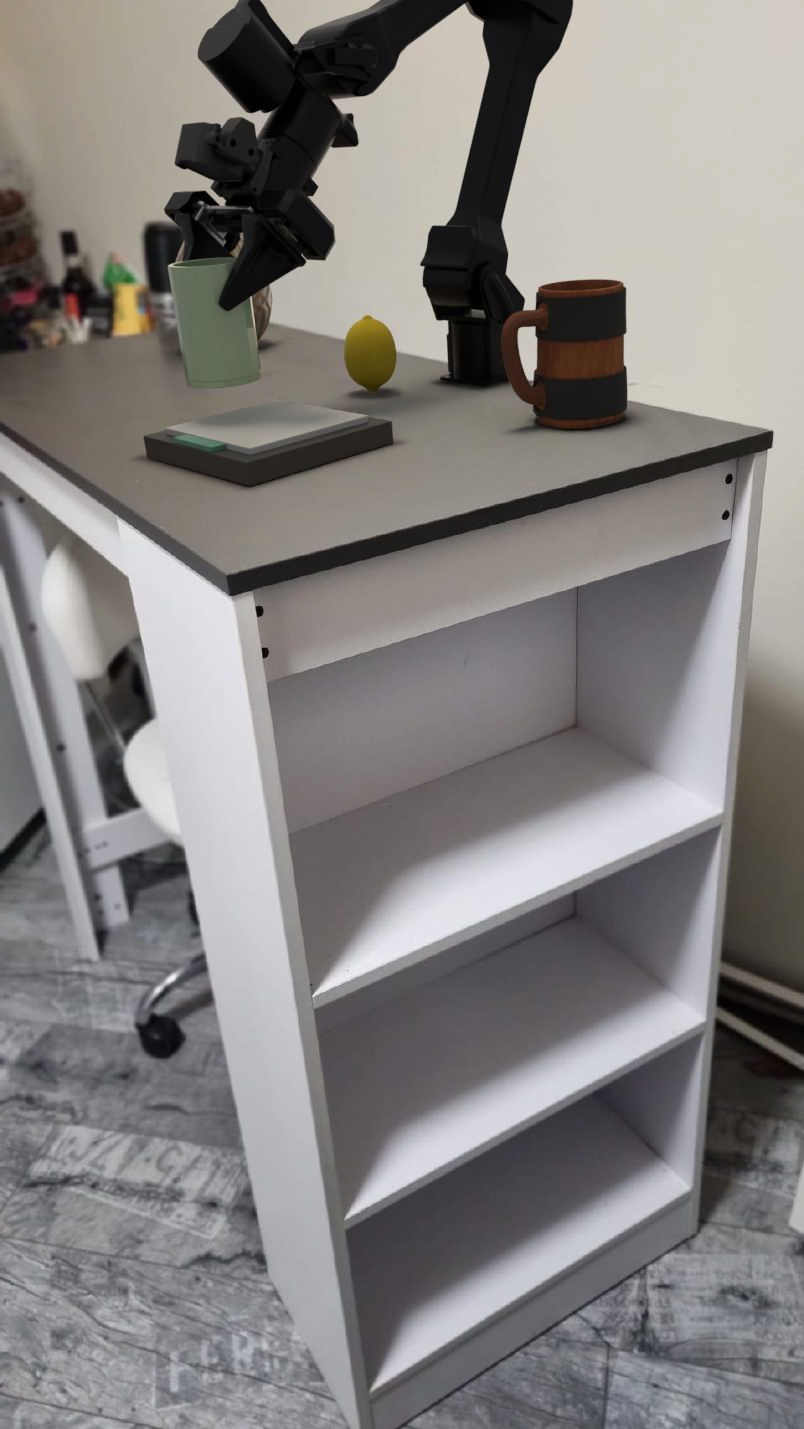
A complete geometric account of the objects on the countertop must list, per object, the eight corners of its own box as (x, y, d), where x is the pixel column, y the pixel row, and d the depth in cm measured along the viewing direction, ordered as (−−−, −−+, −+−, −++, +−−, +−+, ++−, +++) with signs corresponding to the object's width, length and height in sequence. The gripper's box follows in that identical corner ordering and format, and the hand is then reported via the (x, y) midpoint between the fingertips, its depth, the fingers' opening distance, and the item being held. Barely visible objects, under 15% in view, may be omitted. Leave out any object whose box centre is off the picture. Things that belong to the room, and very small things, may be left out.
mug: (484, 421, 103) (480, 290, 98) (597, 403, 107) (599, 275, 101) (524, 441, 96) (522, 300, 91) (644, 421, 99) (649, 284, 94)
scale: (393, 443, 99) (391, 414, 97) (249, 486, 89) (245, 455, 88) (285, 420, 109) (282, 394, 108) (146, 457, 100) (141, 429, 99)
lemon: (405, 387, 119) (400, 310, 116) (388, 399, 115) (382, 319, 111) (358, 387, 121) (352, 311, 117) (339, 398, 117) (332, 320, 113)
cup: (264, 370, 102) (249, 255, 97) (257, 385, 96) (242, 263, 92) (192, 376, 102) (174, 261, 98) (182, 391, 96) (162, 269, 92)
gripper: (164, 90, 97) (77, 240, 96) (290, 72, 84) (190, 245, 83) (250, 181, 105) (170, 320, 104) (376, 177, 92) (286, 336, 91)
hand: (200, 305), depth 95 cm, fingers closed on cup, 7 cm apart
